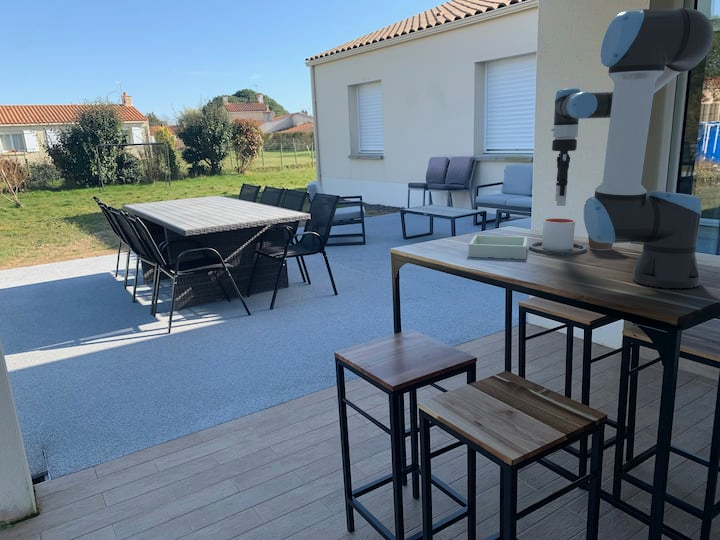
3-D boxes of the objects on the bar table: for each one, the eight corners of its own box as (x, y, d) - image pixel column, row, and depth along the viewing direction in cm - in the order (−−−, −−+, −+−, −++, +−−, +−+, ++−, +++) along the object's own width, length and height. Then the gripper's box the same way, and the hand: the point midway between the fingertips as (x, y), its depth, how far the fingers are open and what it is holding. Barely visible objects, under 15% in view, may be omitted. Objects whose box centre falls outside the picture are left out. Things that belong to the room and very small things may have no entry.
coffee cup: (607, 252, 169) (611, 216, 167) (578, 248, 177) (581, 214, 174) (622, 248, 176) (625, 213, 173) (592, 244, 183) (595, 211, 181)
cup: (575, 252, 172) (578, 222, 169) (544, 252, 173) (546, 222, 171) (568, 246, 181) (571, 218, 179) (539, 246, 183) (541, 218, 180)
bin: (525, 259, 163) (526, 246, 162) (468, 256, 169) (468, 244, 168) (526, 248, 179) (527, 236, 178) (474, 246, 185) (474, 235, 184)
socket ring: (588, 255, 166) (588, 252, 166) (528, 253, 172) (528, 250, 171) (583, 245, 183) (584, 242, 182) (529, 243, 189) (529, 240, 188)
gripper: (551, 138, 181) (547, 198, 186) (553, 139, 158) (549, 207, 163) (574, 138, 179) (569, 199, 184) (580, 138, 156) (574, 208, 161)
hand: (560, 203), depth 174 cm, fingers open, 13 cm apart
